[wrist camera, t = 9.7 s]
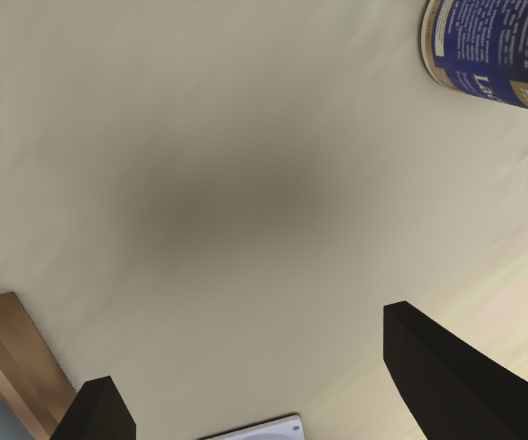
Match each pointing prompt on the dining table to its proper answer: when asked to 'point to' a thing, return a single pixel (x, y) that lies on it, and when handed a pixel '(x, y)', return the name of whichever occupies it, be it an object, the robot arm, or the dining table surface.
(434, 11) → the pill bottle
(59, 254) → the dining table surface
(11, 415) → the blue-grey rectangular block
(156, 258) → the dining table surface
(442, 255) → the dining table surface
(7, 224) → the dining table surface
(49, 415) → the brown wooden tray
